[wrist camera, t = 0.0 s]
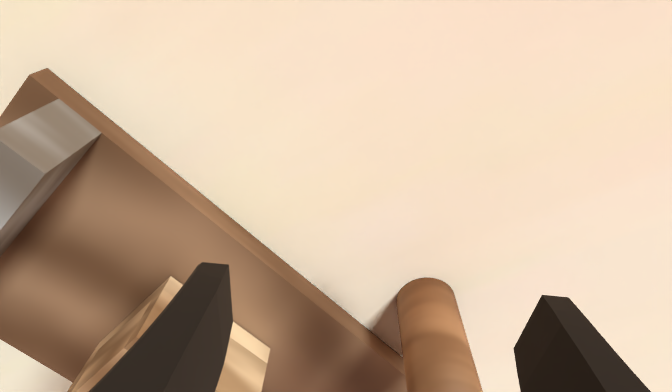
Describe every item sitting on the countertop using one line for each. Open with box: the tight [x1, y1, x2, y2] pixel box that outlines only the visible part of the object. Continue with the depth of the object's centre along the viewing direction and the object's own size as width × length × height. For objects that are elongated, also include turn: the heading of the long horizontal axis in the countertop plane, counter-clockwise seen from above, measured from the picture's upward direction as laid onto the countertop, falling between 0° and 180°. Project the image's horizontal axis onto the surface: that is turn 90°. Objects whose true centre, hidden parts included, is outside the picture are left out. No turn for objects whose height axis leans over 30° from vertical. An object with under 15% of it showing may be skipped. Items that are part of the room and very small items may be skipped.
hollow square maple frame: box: [67, 276, 270, 392], centre depth 23 cm, size 6×6×4 cm
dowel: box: [396, 278, 483, 392], centre depth 21 cm, size 3×3×8 cm
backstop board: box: [0, 68, 407, 392], centre depth 23 cm, size 14×24×5 cm, turn 45°
